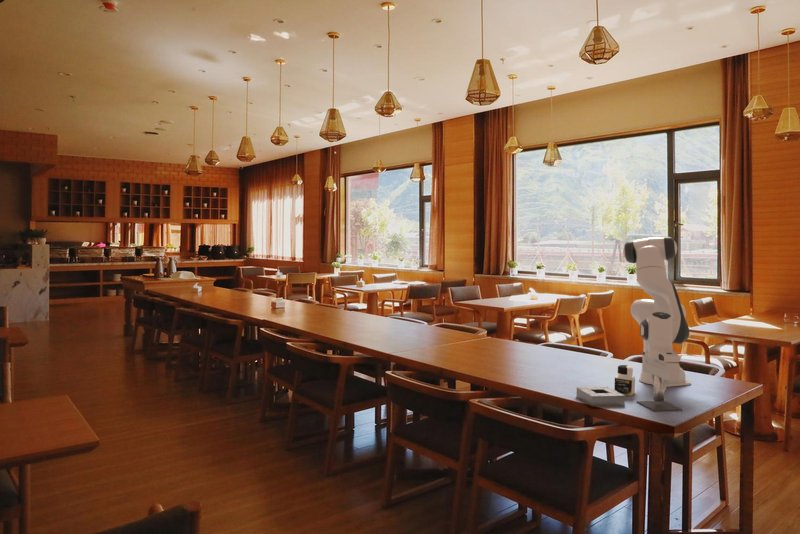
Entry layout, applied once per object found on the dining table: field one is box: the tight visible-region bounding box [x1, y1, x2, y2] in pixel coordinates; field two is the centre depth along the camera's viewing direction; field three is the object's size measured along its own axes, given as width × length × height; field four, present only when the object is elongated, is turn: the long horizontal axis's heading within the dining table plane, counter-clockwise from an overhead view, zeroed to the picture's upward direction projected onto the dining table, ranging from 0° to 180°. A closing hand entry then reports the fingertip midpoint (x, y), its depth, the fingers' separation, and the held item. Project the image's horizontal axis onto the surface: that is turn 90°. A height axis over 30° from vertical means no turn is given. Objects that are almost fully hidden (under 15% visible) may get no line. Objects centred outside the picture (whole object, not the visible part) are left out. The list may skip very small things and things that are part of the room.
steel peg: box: [652, 375, 665, 402], centre depth 223 cm, size 4×4×10 cm
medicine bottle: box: [613, 364, 636, 397], centre depth 243 cm, size 7×7×12 cm
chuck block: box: [576, 386, 626, 407], centre depth 230 cm, size 14×14×4 cm
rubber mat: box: [636, 400, 683, 412], centre depth 223 cm, size 12×12×1 cm
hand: (659, 387), depth 223 cm, fingers closed on steel peg, 4 cm apart
